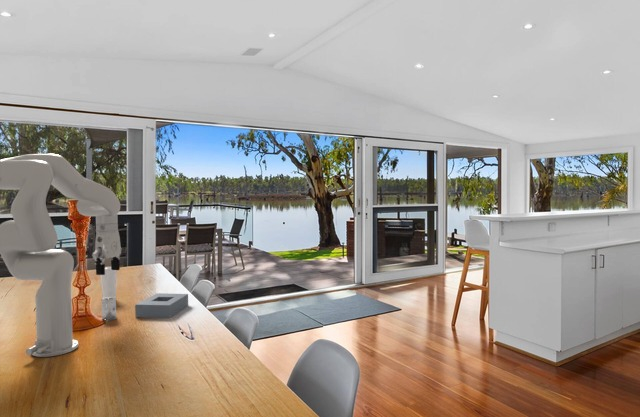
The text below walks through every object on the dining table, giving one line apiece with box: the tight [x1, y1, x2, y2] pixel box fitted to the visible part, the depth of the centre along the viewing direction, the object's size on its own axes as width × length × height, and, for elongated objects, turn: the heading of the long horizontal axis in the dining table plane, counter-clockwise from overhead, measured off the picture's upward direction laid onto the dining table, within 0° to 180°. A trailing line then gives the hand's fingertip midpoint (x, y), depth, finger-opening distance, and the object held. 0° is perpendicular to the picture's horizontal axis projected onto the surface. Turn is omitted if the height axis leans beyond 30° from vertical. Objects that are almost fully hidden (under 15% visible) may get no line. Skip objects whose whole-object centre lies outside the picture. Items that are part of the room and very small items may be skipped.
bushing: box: [101, 296, 117, 322], centre depth 166 cm, size 5×5×8 cm
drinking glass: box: [99, 266, 118, 298], centre depth 194 cm, size 7×7×15 cm
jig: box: [134, 292, 189, 319], centre depth 177 cm, size 18×14×5 cm
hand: (108, 272), depth 166 cm, fingers open, 9 cm apart
